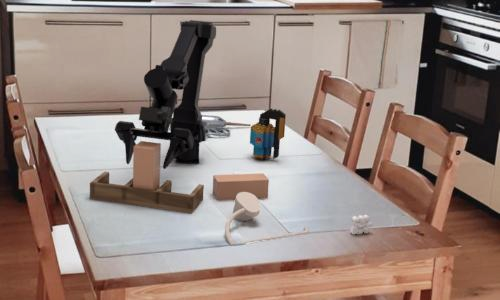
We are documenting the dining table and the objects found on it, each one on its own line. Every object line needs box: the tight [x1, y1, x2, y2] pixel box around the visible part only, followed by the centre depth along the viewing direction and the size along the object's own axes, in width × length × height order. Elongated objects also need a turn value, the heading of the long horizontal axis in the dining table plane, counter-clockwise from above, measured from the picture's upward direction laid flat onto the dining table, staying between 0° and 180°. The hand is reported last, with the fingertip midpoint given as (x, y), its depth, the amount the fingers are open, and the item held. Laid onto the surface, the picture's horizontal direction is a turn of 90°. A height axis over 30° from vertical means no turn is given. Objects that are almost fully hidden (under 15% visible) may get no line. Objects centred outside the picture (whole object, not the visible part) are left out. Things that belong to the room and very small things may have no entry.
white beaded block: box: [349, 214, 373, 236], centre depth 187 cm, size 5×1×4 cm, turn 115°
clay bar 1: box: [132, 140, 162, 190], centre depth 197 cm, size 5×5×13 cm
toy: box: [249, 108, 286, 161], centre depth 234 cm, size 10×10×15 cm
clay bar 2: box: [212, 173, 270, 201], centre depth 206 cm, size 13×5×5 cm, turn 105°
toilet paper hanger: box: [224, 192, 310, 244], centre depth 188 cm, size 20×5×16 cm
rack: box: [89, 171, 204, 214], centre depth 200 cm, size 9×26×4 cm, turn 77°
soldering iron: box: [201, 114, 252, 139], centre depth 257 cm, size 6×28×16 cm
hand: (145, 165), depth 196 cm, fingers open, 9 cm apart
